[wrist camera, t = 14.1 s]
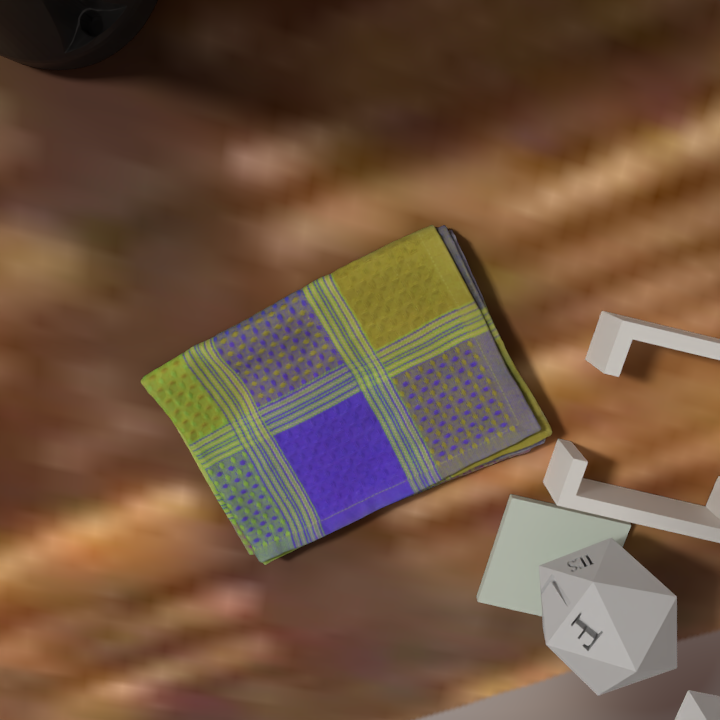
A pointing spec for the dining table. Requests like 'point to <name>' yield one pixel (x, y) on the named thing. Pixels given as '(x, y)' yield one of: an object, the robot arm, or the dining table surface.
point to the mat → (538, 549)
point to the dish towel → (350, 395)
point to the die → (608, 617)
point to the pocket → (614, 501)
